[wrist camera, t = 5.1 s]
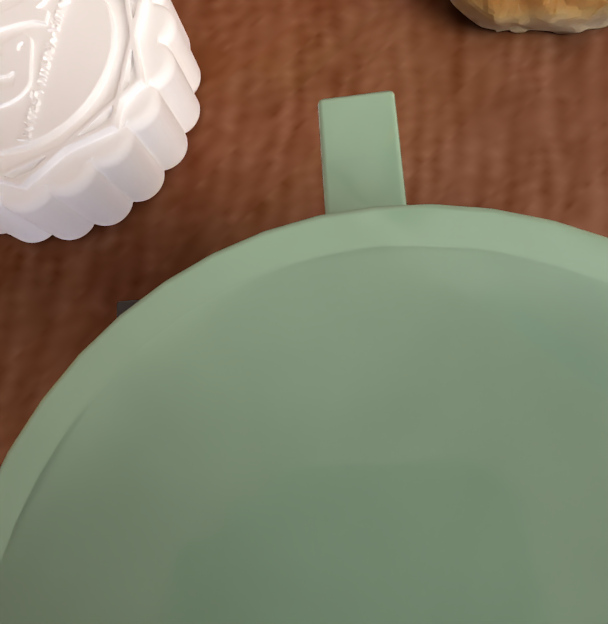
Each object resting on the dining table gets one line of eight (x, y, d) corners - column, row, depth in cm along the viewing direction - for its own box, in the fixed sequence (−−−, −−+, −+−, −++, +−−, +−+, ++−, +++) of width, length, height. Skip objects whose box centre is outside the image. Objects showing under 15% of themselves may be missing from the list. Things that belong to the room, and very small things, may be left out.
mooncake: (-20, -7, 22) (-93, -86, 19) (225, -7, 20) (197, -94, 17) (-94, 233, 20) (-192, 195, 16) (175, 258, 18) (130, 221, 15)
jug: (523, 614, 11) (1415, 1747, 2) (261, 615, 12) (-151, 1426, 2) (476, 274, 13) (780, -98, 4) (250, 293, 14) (-6, 25, 4)
